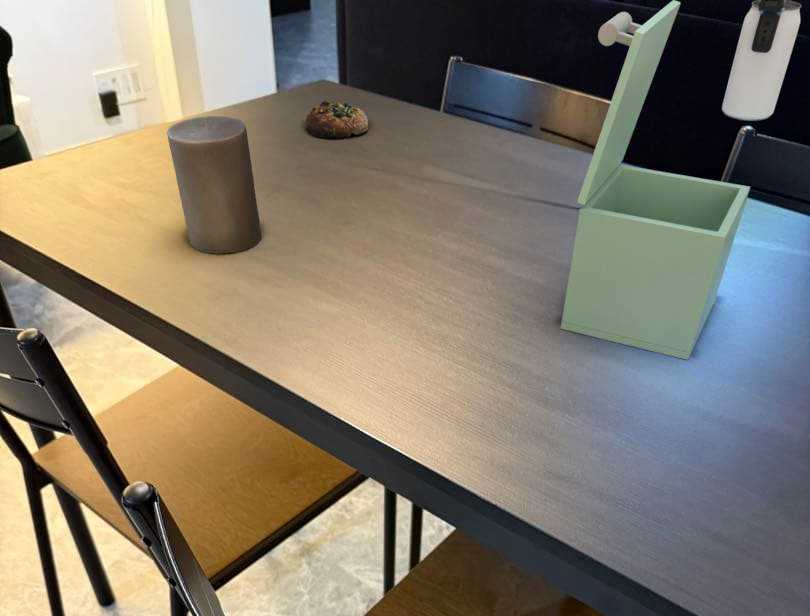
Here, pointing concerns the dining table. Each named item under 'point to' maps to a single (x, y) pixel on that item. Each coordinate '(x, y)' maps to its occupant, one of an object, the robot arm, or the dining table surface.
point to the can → (760, 66)
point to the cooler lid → (627, 89)
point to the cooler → (651, 258)
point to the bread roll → (336, 120)
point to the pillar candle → (215, 183)
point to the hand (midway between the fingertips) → (765, 44)
